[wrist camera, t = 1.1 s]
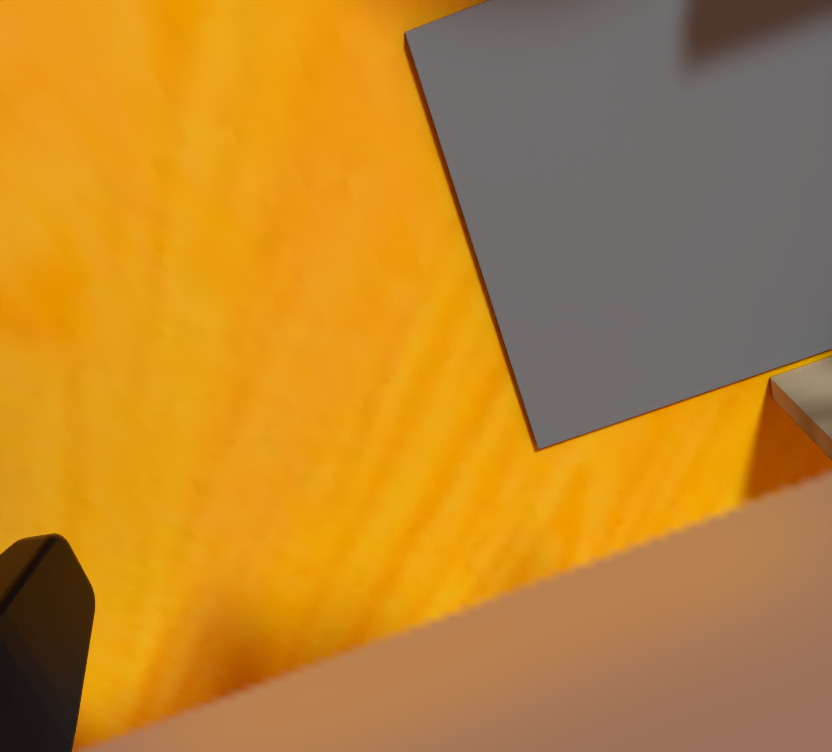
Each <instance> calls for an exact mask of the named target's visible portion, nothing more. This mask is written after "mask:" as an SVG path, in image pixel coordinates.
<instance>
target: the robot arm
mask: <svg viewBox="0 0 832 752" xmlns="http://www.w3.org/2000/svg"><path fill="white" fill-rule="evenodd" d="M94 613H95V596H94V592H93V588H92V586H91V584H90V582H89V580H88V578H87V576H86V574H85V572H84V570H83V569H82V567H81V565H80V563H79V561H78V559H77V557H76V556H75V554H74V552H73V550H72V548H71V546H70V544H69V543H68V541H67V540H66V539H65V538H64V537H63V536H61V535H59V534H47V535H40V536H34V537H27V538H23V539H20V540H18V541H17V542H15V543H14V544H13V545H11V546H10V547H9V548H8V549H6V550H5V551H4V552H3V553H2V554H0V752H71V751H72V747H73V742H74V737H75V732H76V726H77V720H78V714H79V708H80V702H81V695H82V689H83V683H84V676H85V670H86V664H87V657H88V651H89V645H90V639H91V632H92V626H93V620H94Z"/></svg>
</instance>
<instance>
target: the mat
mask: <svg viewBox="0 0 832 752" xmlns="http://www.w3.org/2000/svg"><path fill="white" fill-rule="evenodd" d="M404 33H405V36H406V39H407V42H408V45H409V48H410V52H411V55H412V58H413V61H414V64H415V67H416V70H417V73H418V76H419V80H420V83H421V86H422V89H423V92H424V95H425V98H426V101H427V105H428V108H429V111H430V114H431V117H432V120H433V123H434V126H435V129H436V133H437V136H438V139H439V142H440V145H441V148H442V151H443V154H444V157H445V161H446V164H447V167H448V170H449V173H450V176H451V179H452V182H453V186H454V189H455V192H456V195H457V198H458V201H459V204H460V207H461V210H462V214H463V217H464V220H465V223H466V226H467V229H468V232H469V235H470V238H471V242H472V245H473V248H474V251H475V254H476V257H477V260H478V263H479V267H480V270H481V273H482V276H483V279H484V282H485V285H486V288H487V291H488V295H489V298H490V301H491V304H492V307H493V310H494V313H495V316H496V319H497V323H498V326H499V329H500V332H501V335H502V338H503V341H504V344H505V348H506V351H507V354H508V357H509V360H510V363H511V366H512V369H513V372H514V376H515V379H516V382H517V385H518V388H519V391H520V394H521V397H522V400H523V404H524V407H525V410H526V413H527V416H528V419H529V422H530V425H531V428H532V432H533V435H534V438H535V441H536V444H537V446H538V449H541V448H544V447H547V446H550V445H552V444H555V443H558V442H561V441H564V440H567V439H570V438H573V437H576V436H579V435H582V434H585V433H588V432H590V431H593V430H596V429H599V428H602V427H605V426H608V425H611V424H614V423H617V422H620V421H623V420H625V419H628V418H631V417H634V416H637V415H640V414H643V413H646V412H649V411H652V410H655V409H658V408H660V407H663V406H666V405H669V404H672V403H675V402H678V401H681V400H684V399H687V398H690V397H693V396H696V395H698V394H701V393H704V392H707V391H710V390H713V389H716V388H719V387H722V386H725V385H728V384H731V383H733V382H736V381H739V380H742V379H745V378H748V377H751V376H754V375H757V374H760V373H763V372H766V371H769V370H771V369H774V368H777V367H780V366H783V365H786V364H789V363H792V362H795V361H798V360H801V359H804V358H806V357H809V356H812V355H815V354H818V353H821V352H824V351H827V350H830V349H832V0H487V1H485V2H482V3H479V4H477V5H474V6H472V7H469V8H466V9H464V10H461V11H459V12H456V13H453V14H451V15H448V16H446V17H443V18H440V19H438V20H435V21H433V22H430V23H427V24H425V25H422V26H419V27H417V28H414V29H412V30H409V31H406V32H404Z"/></svg>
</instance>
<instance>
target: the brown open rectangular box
mask: <svg viewBox="0 0 832 752" xmlns="http://www.w3.org/2000/svg"><path fill="white" fill-rule="evenodd" d="M770 381H771V389H772V397H773V400H774V401H775V402H776V403H777V404H778V405H779V406H780V407H781V408H782V409H783V410H784V411H785V412H786V413H787V414H788V415H789V416H790V417H791V418H792V419H793V421H794V422H795V423H796V424H797V425H798V426H799V427H800V428H801V429H802V430H803V431H804V432H805V433H806V434H807V435H808V436H809V437H810V438H811V439H812V440H813V441H814V442H815V443H816V444H817V445H818V446H819V447H820V448H821V449H822V451H823V452H824V453H825V454H826V455H827V456H828V457H829V458H830V459H831V460H832V357H829V358H826V359H823V360H820V361H817V362H814V363H811V364H808V365H805V366H802V367H799V368H797V369H794V370H791V371H788V372H785V373H782V374H779V375H776V376H773V377H770Z"/></svg>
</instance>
